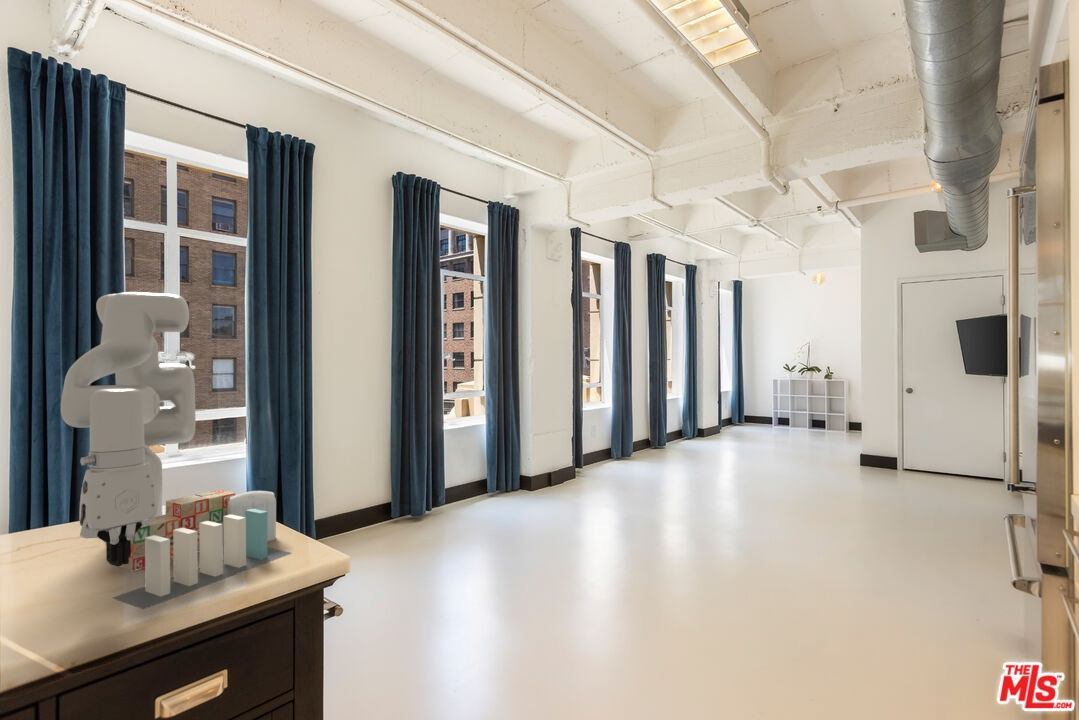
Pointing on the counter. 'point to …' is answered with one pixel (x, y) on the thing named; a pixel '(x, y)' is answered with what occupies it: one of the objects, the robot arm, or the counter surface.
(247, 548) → the domino
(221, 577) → the domino mat
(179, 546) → the domino
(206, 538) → the domino
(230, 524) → the domino
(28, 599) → the counter surface
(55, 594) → the counter surface
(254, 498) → the white rounded slab
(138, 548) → the stack of blocks
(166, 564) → the domino
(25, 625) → the counter surface
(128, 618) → the counter surface
